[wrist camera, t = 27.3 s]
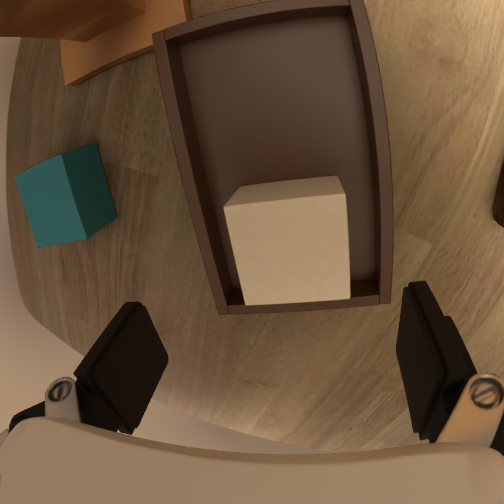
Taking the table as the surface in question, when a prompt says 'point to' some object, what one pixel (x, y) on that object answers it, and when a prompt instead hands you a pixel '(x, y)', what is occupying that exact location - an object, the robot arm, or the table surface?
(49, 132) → the table surface
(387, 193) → the dark brown rectangular tray
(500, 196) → the hand tool
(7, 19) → the stand
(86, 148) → the teal square block
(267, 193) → the cream square block
